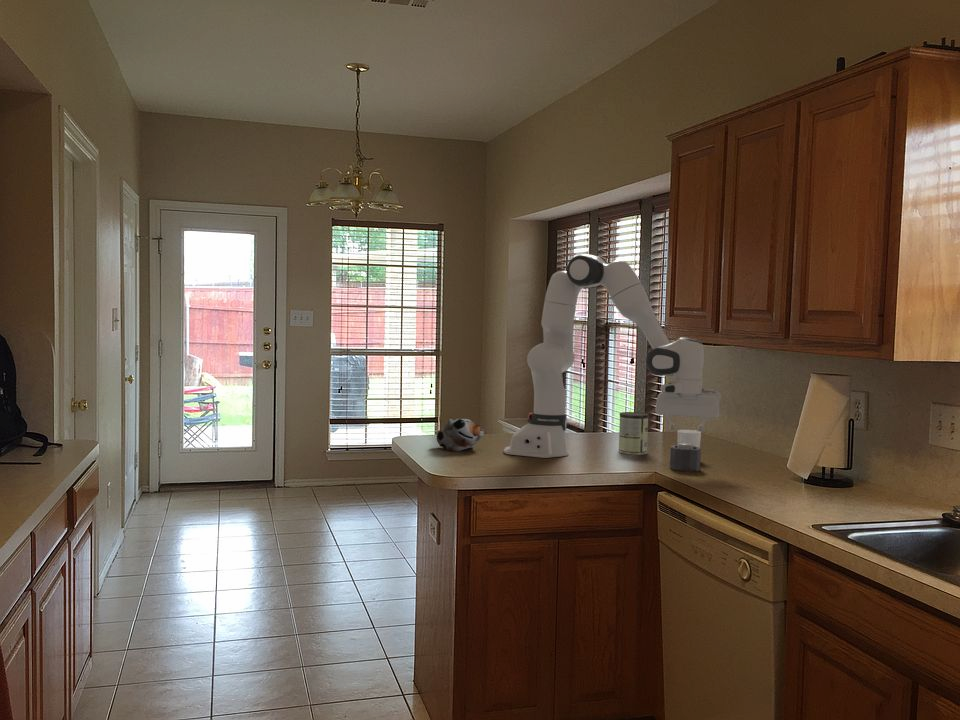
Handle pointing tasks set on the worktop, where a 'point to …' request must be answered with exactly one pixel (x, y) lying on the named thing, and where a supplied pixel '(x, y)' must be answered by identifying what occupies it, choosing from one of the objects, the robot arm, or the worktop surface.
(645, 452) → the coffee can
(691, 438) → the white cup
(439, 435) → the lucky cat figurine
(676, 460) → the dark grey cylinder
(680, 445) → the cap
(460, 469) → the worktop surface
